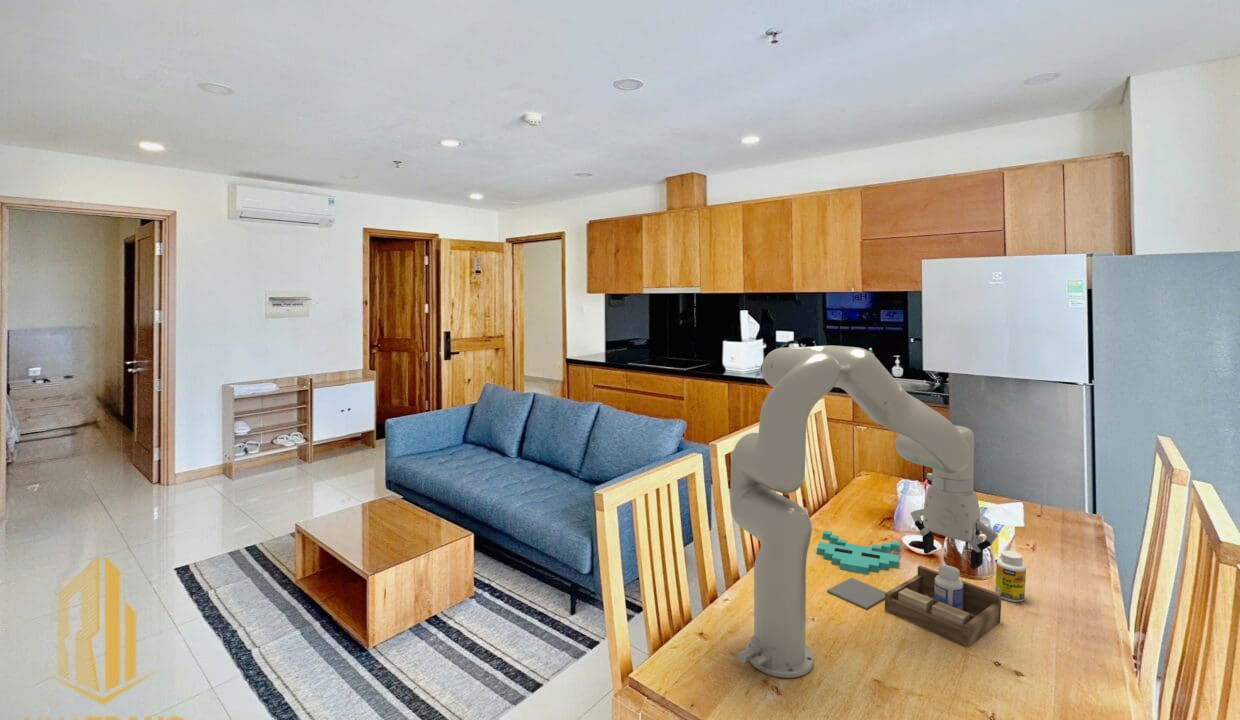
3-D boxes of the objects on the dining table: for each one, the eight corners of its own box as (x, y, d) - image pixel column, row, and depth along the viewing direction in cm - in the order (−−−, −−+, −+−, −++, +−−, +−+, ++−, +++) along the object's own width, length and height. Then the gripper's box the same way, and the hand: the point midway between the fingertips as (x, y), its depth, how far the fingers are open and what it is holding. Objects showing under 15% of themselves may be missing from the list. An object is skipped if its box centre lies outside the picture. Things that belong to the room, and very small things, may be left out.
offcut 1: (925, 623, 118) (926, 603, 118) (897, 611, 123) (898, 592, 123) (932, 619, 120) (933, 599, 119) (905, 607, 125) (905, 588, 124)
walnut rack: (967, 647, 110) (968, 618, 109) (884, 610, 123) (885, 584, 123) (1000, 621, 118) (1001, 594, 118) (919, 589, 132) (919, 565, 131)
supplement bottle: (998, 600, 127) (1000, 557, 126) (992, 589, 132) (994, 547, 131) (1027, 605, 124) (1029, 561, 123) (1021, 593, 129) (1022, 550, 129)
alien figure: (823, 537, 164) (812, 566, 146) (823, 530, 164) (812, 557, 146) (899, 550, 155) (897, 582, 137) (899, 542, 154) (898, 573, 137)
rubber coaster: (866, 610, 124) (866, 607, 124) (827, 591, 132) (827, 589, 132) (890, 596, 129) (890, 593, 129) (851, 579, 138) (851, 577, 138)
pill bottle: (959, 607, 124) (961, 565, 123) (964, 620, 119) (966, 576, 118) (931, 603, 126) (933, 562, 125) (935, 615, 121) (937, 572, 120)
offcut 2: (962, 639, 112) (962, 618, 112) (931, 626, 117) (932, 606, 117) (968, 634, 114) (969, 613, 114) (938, 621, 119) (939, 601, 118)
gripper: (903, 477, 125) (903, 551, 127) (989, 497, 111) (987, 579, 112) (920, 471, 129) (920, 541, 131) (1005, 489, 115) (1003, 568, 117)
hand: (951, 559), depth 122 cm, fingers open, 9 cm apart
